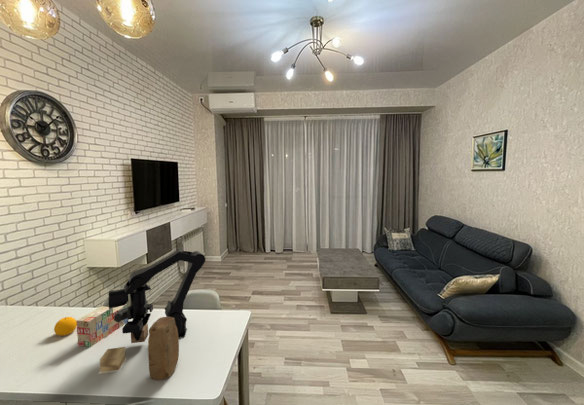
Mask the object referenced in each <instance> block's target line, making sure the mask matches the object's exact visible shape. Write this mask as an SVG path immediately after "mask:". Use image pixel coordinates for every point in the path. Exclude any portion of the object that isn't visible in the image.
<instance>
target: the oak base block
mask: <svg viewBox="0 0 584 405" xmlns="http://www.w3.org/2000/svg"><path fill="white" fill-rule="evenodd" d="M125 358H126V347H125V346H121V347H120V346H119V347H113V348H107V349H106V351H105V352H104V354H103V355H102V356H101V358H100V359H99V364H100V365H99V366H100V370H101V372H106V371H113V370H119V369H120V367H121V365H122V364H123V362H124V360H125Z"/></svg>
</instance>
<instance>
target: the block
mask: <svg viewBox="0 0 584 405" xmlns="http://www.w3.org/2000/svg"><path fill="white" fill-rule="evenodd" d="M179 338H180V337H179ZM179 338H178V330H177V327H176V325H175V319H174V318H173V317H166V316H162V317H159V318H158V319H157V320H155V321H154V322H153V323H152V324H151V326H150V328H148V337H147V340H148V344H147V345H148V346H147V349H148V351H147V354H148V371H149V376H150V377H149V378H151V380H155V381H164V380H166V379H169V378H170V377H171V376H172V375H173V374H174V373H175V371H176V368H177V366H178V361H179V355H180V345H179V343H180V342H179Z"/></svg>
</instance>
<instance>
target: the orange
mask: <svg viewBox="0 0 584 405" xmlns="http://www.w3.org/2000/svg"><path fill="white" fill-rule="evenodd" d="M53 328H54V329H53V330H54V333H55V334H56V336H59V337H60V336H61V337H64V336H68V335H70V334H72V333H73V332H74V331H75V330H77V320H76V319H75V317H72V316H66V317H63V318H60V319H59V320H58V321H57V322H56V323H55V325H54V327H53Z"/></svg>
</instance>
